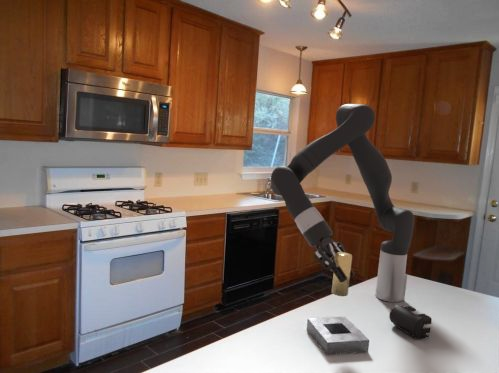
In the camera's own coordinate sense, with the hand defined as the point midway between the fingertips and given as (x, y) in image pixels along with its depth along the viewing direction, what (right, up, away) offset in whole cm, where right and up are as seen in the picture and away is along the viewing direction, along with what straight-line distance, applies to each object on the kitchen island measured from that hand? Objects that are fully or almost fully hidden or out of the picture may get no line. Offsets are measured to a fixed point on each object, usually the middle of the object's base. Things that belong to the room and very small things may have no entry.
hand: (348, 278), depth 111 cm
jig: (-3, -18, +3) cm, 19 cm away
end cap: (+21, -19, +12) cm, 31 cm away
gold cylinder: (-2, -4, +2) cm, 5 cm away
